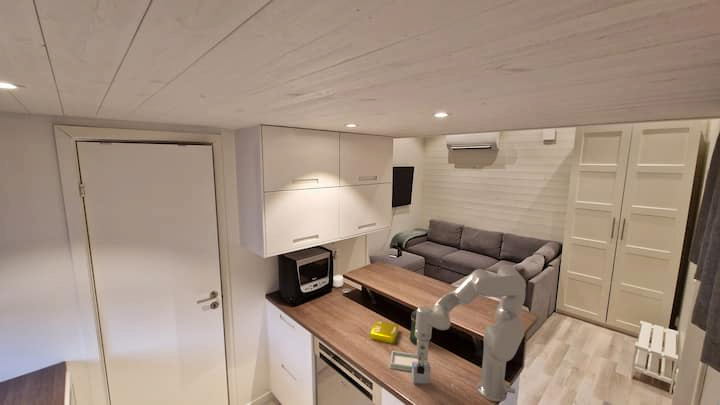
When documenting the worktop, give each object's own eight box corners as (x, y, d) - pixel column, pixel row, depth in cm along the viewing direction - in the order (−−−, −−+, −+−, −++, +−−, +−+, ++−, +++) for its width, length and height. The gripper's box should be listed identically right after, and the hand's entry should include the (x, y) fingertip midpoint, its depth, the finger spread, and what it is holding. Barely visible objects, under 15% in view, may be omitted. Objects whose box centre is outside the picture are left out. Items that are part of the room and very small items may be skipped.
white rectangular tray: (419, 357, 157) (419, 354, 156) (419, 372, 146) (419, 368, 146) (391, 354, 159) (391, 350, 159) (389, 367, 149) (389, 363, 148)
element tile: (394, 345, 168) (394, 337, 167) (369, 339, 173) (369, 332, 172) (399, 331, 182) (399, 323, 181) (376, 326, 187) (376, 319, 186)
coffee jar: (418, 347, 166) (419, 316, 163) (407, 340, 172) (409, 311, 169) (428, 340, 172) (430, 311, 169) (417, 334, 178) (419, 306, 175)
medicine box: (427, 377, 143) (428, 360, 142) (429, 383, 139) (430, 367, 137) (411, 377, 143) (412, 361, 141) (413, 384, 138) (414, 367, 137)
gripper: (432, 345, 128) (429, 380, 131) (430, 324, 145) (427, 355, 147) (414, 343, 129) (412, 377, 132) (414, 322, 146) (412, 353, 149)
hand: (420, 366), depth 140 cm, fingers open, 9 cm apart
